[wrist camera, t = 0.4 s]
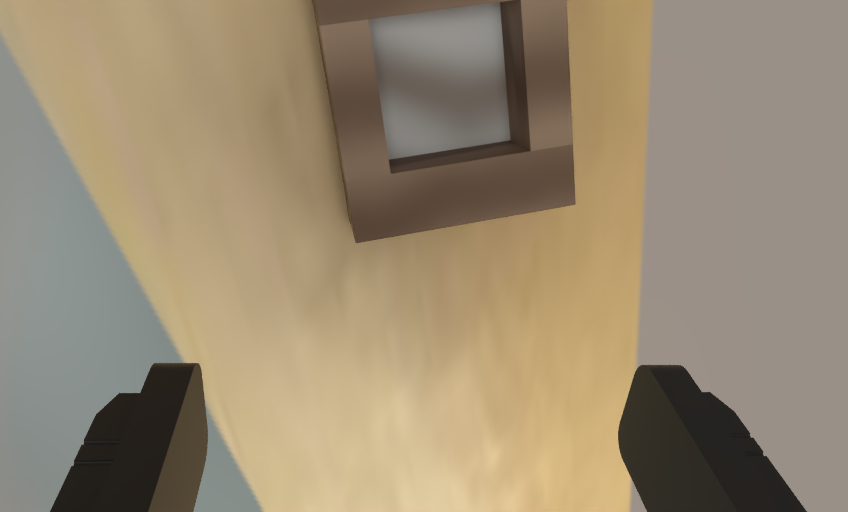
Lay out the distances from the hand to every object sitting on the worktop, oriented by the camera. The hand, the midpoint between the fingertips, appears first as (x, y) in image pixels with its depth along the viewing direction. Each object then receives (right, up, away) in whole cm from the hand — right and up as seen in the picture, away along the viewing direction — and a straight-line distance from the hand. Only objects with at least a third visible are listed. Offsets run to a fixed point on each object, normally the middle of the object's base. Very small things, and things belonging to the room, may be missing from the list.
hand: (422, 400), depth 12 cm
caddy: (+1, +12, +24) cm, 27 cm away
